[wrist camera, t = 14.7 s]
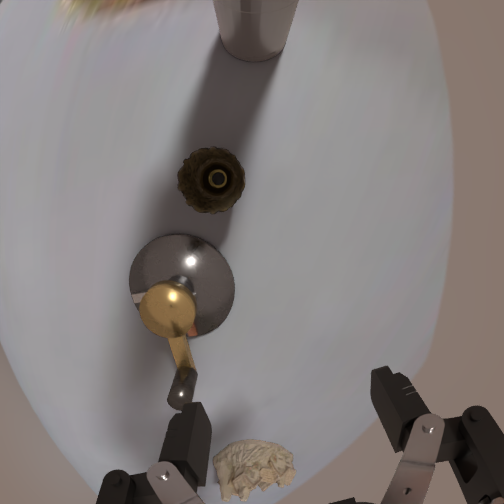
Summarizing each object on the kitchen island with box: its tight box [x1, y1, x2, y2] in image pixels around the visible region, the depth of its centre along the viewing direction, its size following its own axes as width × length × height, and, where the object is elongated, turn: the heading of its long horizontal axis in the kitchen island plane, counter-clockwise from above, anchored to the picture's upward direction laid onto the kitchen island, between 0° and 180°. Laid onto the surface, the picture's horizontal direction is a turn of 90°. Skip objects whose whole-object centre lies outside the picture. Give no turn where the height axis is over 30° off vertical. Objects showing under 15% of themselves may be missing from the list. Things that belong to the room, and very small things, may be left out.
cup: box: [178, 146, 245, 214], centre depth 35 cm, size 8×7×8 cm
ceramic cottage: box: [213, 440, 296, 502], centre depth 48 cm, size 16×16×15 cm
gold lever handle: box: [139, 280, 198, 411], centre depth 34 cm, size 15×7×8 cm, turn 8°
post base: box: [129, 234, 235, 337], centre depth 40 cm, size 16×16×6 cm
